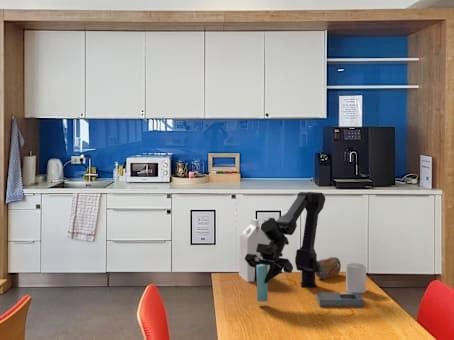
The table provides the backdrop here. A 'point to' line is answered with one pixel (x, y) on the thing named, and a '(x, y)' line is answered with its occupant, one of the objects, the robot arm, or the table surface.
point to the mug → (356, 277)
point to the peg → (262, 283)
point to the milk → (250, 248)
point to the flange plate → (340, 299)
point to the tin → (329, 268)
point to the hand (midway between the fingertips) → (260, 282)
